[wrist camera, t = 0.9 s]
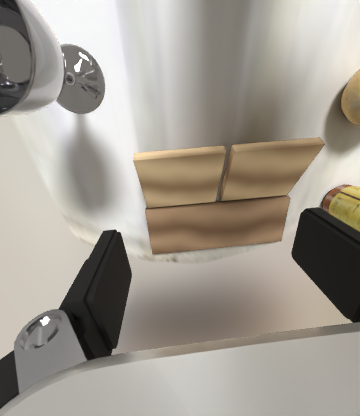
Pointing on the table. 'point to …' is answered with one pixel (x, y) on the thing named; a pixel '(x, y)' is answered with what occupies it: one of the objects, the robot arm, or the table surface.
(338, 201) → the sauce bottle
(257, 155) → the oak plank
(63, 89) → the wine glass
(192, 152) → the oak plank
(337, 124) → the table surface
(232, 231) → the walnut board
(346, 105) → the onion
